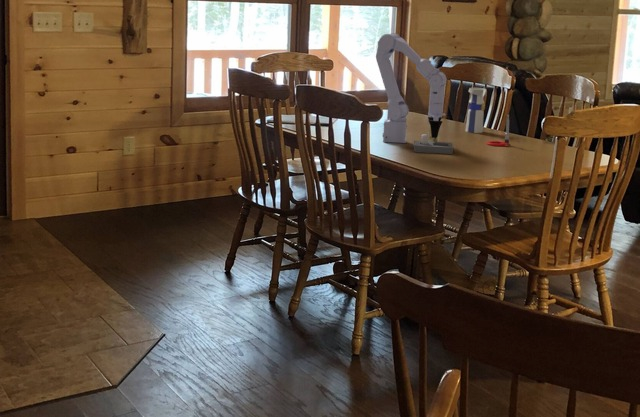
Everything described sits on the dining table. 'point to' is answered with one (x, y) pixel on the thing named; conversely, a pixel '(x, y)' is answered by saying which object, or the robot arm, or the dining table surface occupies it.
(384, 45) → the robot arm
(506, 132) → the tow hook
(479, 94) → the water bottle
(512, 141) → the dining table surface
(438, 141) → the cylinder
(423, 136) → the grey holder block
